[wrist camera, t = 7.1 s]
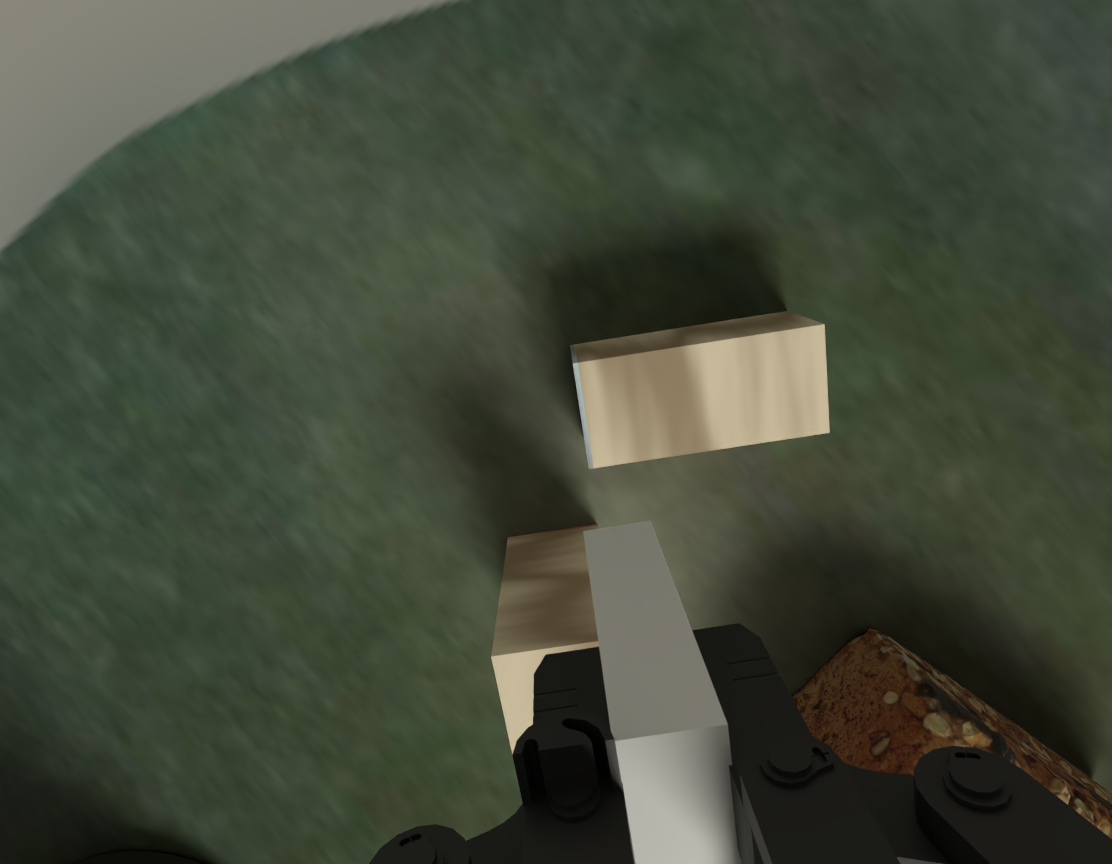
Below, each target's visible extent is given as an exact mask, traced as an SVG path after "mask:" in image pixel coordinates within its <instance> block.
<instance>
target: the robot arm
mask: <svg viewBox="0 0 1112 864" xmlns="http://www.w3.org/2000/svg"><path fill="white" fill-rule="evenodd" d="M583 534H584V541H585V549H586V556H587V563H588V570H589V577H590V585H591V592H592V599H593V606H594V613H595V621H596V628H597V635H598V642H599V647H593V648H586V649H580V650H573V651H567V652H560V653H553V654H547V655H545V656H544V658H543V660H542V661H541V663H540V665H539V666H538V668H537V670H536V671H535V673H534V690H533V695H534V698H533V714H534V715H533V725H531V726H529V727H528V728H527V729H526V730H525V731H524V733H523V734H522V735H521V736H520V737H519V738H518V740H517V742H516V745H515V748H514V751H513V754H512V755H513V759H514V764H515V769H516V774H517V778H518V783H519V788H520V792H521V797H522V802H523V804H522V805H521V807H520V808H519V809H518V810H517V812H516V813H515V814H514V815H512V816H511V817H510V818H509V819H508V820H506V821H505V822H504V823H502V824H501V825H499V826H497V827H495V828H493V829H492V830H490V831H488V832H485V833H483V834H481V835H479V836H476V837H474V838H472V839H469V840H467V841H465V839H464V838H463V837H462V836H461V835H460V834H458V833H457V832H456V831H455V830H454V829H452V828H448V827H444V826H441V825H437V824H436V825H427V826H418V827H415V828H413V829H410V830H408V831H406V832H403V833H401V834H399V835H397V836H396V837H394V838H393V839H392V840H390V841H389V842H388V843H387V844H385V845H384V846H383V847H382V848H380V850H379V851H378V852H377V854H376V855H375V856H374V858H373V859H372V860H371V862H370V863H369V864H1112V839H1111V838H1110V837H1109V836H1107V835H1106V834H1105V833H1104V832H1102V831H1101V830H1100V829H1098V828H1097V827H1096V826H1095V825H1093V824H1092V823H1091V822H1089V821H1088V820H1087V819H1086V818H1084V817H1083V816H1082V815H1080V814H1079V813H1078V812H1077V811H1075V810H1074V809H1073V808H1071V807H1070V806H1069V805H1068V804H1066V803H1065V802H1064V801H1062V800H1061V799H1060V798H1059V797H1057V796H1056V795H1055V794H1053V793H1052V792H1051V791H1050V790H1048V789H1047V788H1046V787H1044V786H1043V785H1042V784H1041V783H1039V782H1038V781H1037V780H1035V779H1034V778H1033V777H1032V776H1030V775H1029V774H1028V773H1026V772H1025V771H1024V770H1023V769H1021V768H1020V767H1018V766H1016V765H1015V764H1013V763H1011V762H1010V761H1008V760H1006V759H1005V758H1003V757H1001V756H999V755H996V754H993V753H990V752H987V751H984V750H981V749H978V748H972V747H961V746H949V747H943V748H938V749H933V750H931V751H930V752H928V753H927V754H925V755H924V756H922V757H920V758H919V760H918V763H917V765H916V767H915V769H914V776H913V775H904V774H895V773H885V772H877V771H872V770H867V769H861V768H858V767H855V766H853V765H850V764H847V763H844V762H843V761H842V760H841V758H840V757H839V756H838V755H837V754H836V753H835V751H834V750H833V749H832V748H831V747H830V746H829V745H827V744H825V743H824V742H822V741H820V740H819V739H817V738H815V737H813V736H812V734H811V732H810V730H809V728H808V726H807V725H806V723H805V721H804V719H803V717H802V715H801V713H800V712H799V710H798V708H797V706H796V704H795V702H794V701H793V699H792V697H791V695H790V693H789V691H788V689H787V688H786V686H785V684H784V682H783V680H782V678H781V676H780V677H779V674H778V671H777V669H776V667H775V665H774V663H773V662H772V660H770V656H769V654H768V652H767V650H766V649H765V647H764V645H763V643H762V641H761V639H760V638H759V637H758V636H756V635H755V634H754V633H752V632H751V631H749V630H748V629H747V628H745V627H744V626H742V625H741V624H740V623H738V624H732V625H725V626H718V627H712V628H705V629H699V630H692V629H691V626H690V623H689V621H688V618H687V616H686V613H685V610H684V608H683V605H682V602H681V600H680V597H679V594H678V592H677V589H676V586H675V584H674V581H673V579H672V576H671V573H670V571H669V568H668V565H667V563H666V560H665V557H664V555H663V552H662V550H661V547H660V544H659V542H658V539H657V536H656V534H655V531H654V528H653V526H652V523H651V521H645V522H639V523H632V524H626V525H620V526H613V527H607V528H600V529H594V530H587V531H583ZM76 864H201V863H198V862H196V861H193V860H190V859H187V858H183V857H179V856H175V855H170V854H165V853H158V852H149V851H123V852H113V853H107V854H102V855H98V856H94V857H91V858H88V859H85V860H83V861H80V862H78V863H76Z"/></svg>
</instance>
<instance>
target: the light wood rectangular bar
mask: <svg viewBox="0 0 1112 864" xmlns="http://www.w3.org/2000/svg"><path fill="white" fill-rule="evenodd" d="M570 350H571V356H572V363H573V369H574V376H575V383H576V389H577V396H578V402H579V409H580V415H581V422H582V429H583V435H584V442H585V448H586V454H587V460H588V467H589V469H592V468H598V467H605V466H612V465H618V464H625V463H632V462H638V461H645V460H651V459H658V458H665V457H671V456H678V455H685V454H691V453H698V452H705V451H711V450H718V449H725V448H731V447H738V446H744V445H751V444H758V443H764V442H771V441H778V440H784V439H791V438H798V437H804V436H811V435H817V434H824V433H830V431H829V409H828V388H827V367H826V345H825V324H822V323H820V322H817V321H814V320H811V319H808V318H806V317H803V316H800V315H797V314H794V313H792V312H789V311H784V312H778V313H771V314H765V315H758V316H752V317H746V318H739V319H733V320H727V321H720V322H714V323H708V324H701V325H695V326H688V327H682V328H676V329H669V330H663V331H657V332H650V333H644V334H638V335H631V336H625V337H619V338H612V339H606V340H599V341H593V342H587V343H580V344H574V345H570Z"/></svg>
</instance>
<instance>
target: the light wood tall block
mask: <svg viewBox="0 0 1112 864" xmlns="http://www.w3.org/2000/svg"><path fill="white" fill-rule="evenodd" d="M594 529H598V527H597V524H593V525H586V526H580V527H573V528H566V529H560V530H553V531H546V532H540V533H533V534H526V535H520V536H513V537H508V539H507V546H506V554H505V561H504V568H503V575H502V583H501V590H500V597H499V604H498V611H497V619H496V626H495V633H494V640H493V648H492V655H491V658H492V662H493V667H494V671H495V676H496V681H497V685H498V690H499V695H500V699H501V704H502V708H503V713H504V718H505V722H506V727H507V732H508V736H509V741H510V746H511V750H512V754H513V751H514V748H515V745H516V742H517V740H518V738H519V737H520V736H521V735H522V734H523V733H524V731H525V730H526V729H527V728H528V727H529V726H531V725H533V715H534V714H533V698H534V695H533V690H534V673H535V671H536V670H537V668H538V666H539V665H540V663H541V661H542V660H543V658H544V656H545V655H547V654H553V653H560V652H567V651H573V650H580V649H586V648H593V647H599V642H598V635H597V628H596V621H595V613H594V606H593V599H592V592H591V585H590V577H589V570H588V563H587V556H586V549H585V541H584V534H583V531H587V530H594Z"/></svg>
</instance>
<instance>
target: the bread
mask: <svg viewBox="0 0 1112 864" xmlns="http://www.w3.org/2000/svg"><path fill="white" fill-rule="evenodd" d="M792 699H793V701H794V702H795V704H796V706H797V708H798V710H799V712H800V713H801V715H802V717H803V719H804V721H805V723H806V725H807V726H808V728H809V730H810V732H811V734H812V736H813V737H815V738H817V739H819V740H820V741H822V742H824V743H825V744H827V745H829V746H830V747H831V748H832V749H833V750H834V751H835V753H836V754H837V755H838V756H839V757H840V758H841V760H842V761H843V762H844V763H847V764H850V765H853V766H855V767H858V768H861V769H867V770H872V771H877V772H885V773H895V774H904V775H913V776H914V769H915V767H916V765H917V763H918V760H919V758H920V757H922V756H924V755H925V754H927V753H928V752H930V751H931V750H933V749H938V748H943V747H949V746H961V747H972V748H978V749H981V750H984V751H987V752H990V753H993V754H996V755H999V756H1001V757H1003V758H1005V759H1006V760H1008V761H1010V762H1011V763H1013V764H1015V765H1016V766H1018V767H1020V768H1021V769H1023V770H1024V771H1025V772H1026V773H1028V774H1029V775H1030V776H1032V777H1033V778H1034V779H1035V780H1037V781H1038V782H1039V783H1041V784H1042V785H1043V786H1044V787H1046V788H1047V789H1048V790H1050V791H1051V792H1052V793H1053V794H1055V795H1056V796H1057V797H1059V798H1060V799H1061V800H1062V801H1064V802H1065V803H1066V804H1068V805H1069V806H1070V807H1071V808H1073V809H1074V810H1075V811H1077V812H1078V813H1079V814H1080V815H1082V816H1083V817H1084V818H1086V819H1087V820H1088V821H1089V822H1091V823H1092V824H1093V825H1095V826H1096V827H1097V828H1098V829H1100V830H1101V831H1102V832H1104V833H1105V834H1106V835H1107V836H1109V837H1110V838H1111V839H1112V794H1110V793H1109V792H1108V791H1107V790H1106V789H1105V788H1103V787H1102V786H1100V785H1099V784H1097V783H1096V782H1095V781H1093V780H1092V779H1091V778H1090V777H1089V776H1087V775H1086V774H1085V773H1084V772H1082V771H1081V770H1079V769H1078V768H1076V767H1075V766H1074V765H1072V764H1071V763H1069V762H1068V761H1067V760H1065V759H1064V758H1062V757H1061V756H1059V755H1058V754H1057V753H1055V752H1054V751H1052V750H1051V749H1050V748H1048V747H1047V746H1045V745H1043V744H1042V743H1040V742H1039V741H1038V740H1037V739H1036V738H1034V737H1033V736H1031V735H1030V734H1029V733H1028V732H1026V731H1025V730H1024V729H1023V728H1021V727H1020V726H1018V725H1016V724H1015V723H1014V722H1012V721H1011V720H1010V719H1008V718H1006V717H1005V716H1004V715H1002V714H1001V713H999V712H998V711H997V710H995V709H994V708H991V707H990V706H989V705H987V704H986V703H985V702H983V701H982V700H980V699H979V698H978V697H976V696H975V695H974V694H972V693H971V692H970V691H969V690H967V689H966V688H965V687H964V688H963V687H962V686H960V685H959V684H958V683H956V682H955V681H954V680H953V679H951V678H950V677H949V676H947V675H946V674H944V673H942V672H941V671H939V670H937V669H936V668H934V667H933V666H932V665H930V664H929V663H927V662H926V661H924V660H923V659H921V658H920V657H919V656H917V655H916V654H915V653H913V652H912V651H910V650H908V649H907V648H905V647H903V646H901V645H900V644H898V643H897V642H896V641H894V640H893V639H892V638H890V637H888V636H886V635H884V634H882V633H880V632H879V631H878V630H872V629H870V628H869V630H868V631H867V632H866V633H865V634H864V635H862V636H860V637H857V638H855V639H854V640H852V641H851V642H850V643H848V644H847V645H845V646H844V647H843V648H842V649H841V650H840V651H838V652H837V653H836V654H835V655H834V656H833V658H832V659H831V660H830V661H829V662H828V663H827V664H826V665H824V666H823V667H822V668H821V669H820V670H818V672H817V673H816V674H815V675H814V676H813V678H812V679H811V680H810V681H809V682H808V683H807V684H806V685H805V686H804V687H803V688H802V689H801V690H799V691H798V692H796V693H795V694H794V695H793V696H792Z"/></svg>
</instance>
